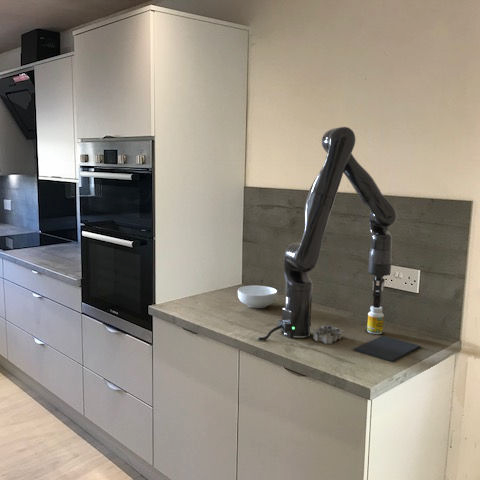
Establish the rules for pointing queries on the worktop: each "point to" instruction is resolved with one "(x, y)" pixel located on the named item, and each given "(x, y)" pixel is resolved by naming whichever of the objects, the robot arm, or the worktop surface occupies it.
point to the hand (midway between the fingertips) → (377, 304)
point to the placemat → (387, 348)
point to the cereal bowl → (257, 296)
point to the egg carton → (327, 334)
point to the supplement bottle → (375, 321)
